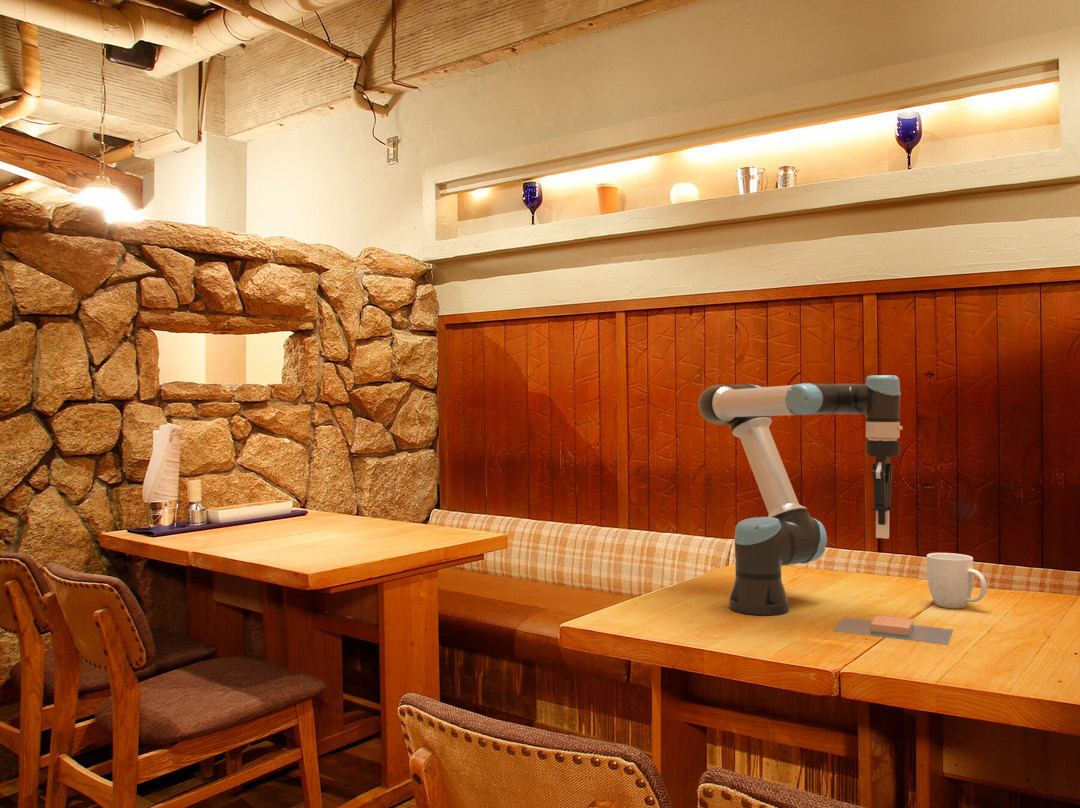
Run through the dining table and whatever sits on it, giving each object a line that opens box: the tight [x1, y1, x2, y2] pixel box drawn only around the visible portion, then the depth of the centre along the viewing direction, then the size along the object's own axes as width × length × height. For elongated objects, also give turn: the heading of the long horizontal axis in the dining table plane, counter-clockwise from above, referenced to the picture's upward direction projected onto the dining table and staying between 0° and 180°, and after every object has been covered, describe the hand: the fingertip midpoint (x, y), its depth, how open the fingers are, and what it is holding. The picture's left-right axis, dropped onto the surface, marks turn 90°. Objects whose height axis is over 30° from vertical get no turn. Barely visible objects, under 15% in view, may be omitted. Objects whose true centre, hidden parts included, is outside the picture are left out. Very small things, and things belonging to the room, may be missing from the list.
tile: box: [871, 615, 915, 637], centre depth 188 cm, size 8×2×9 cm
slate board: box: [831, 616, 954, 646], centre depth 188 cm, size 24×14×1 cm, turn 59°
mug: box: [926, 552, 988, 609], centre depth 213 cm, size 15×11×13 cm
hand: (882, 537), depth 196 cm, fingers closed
